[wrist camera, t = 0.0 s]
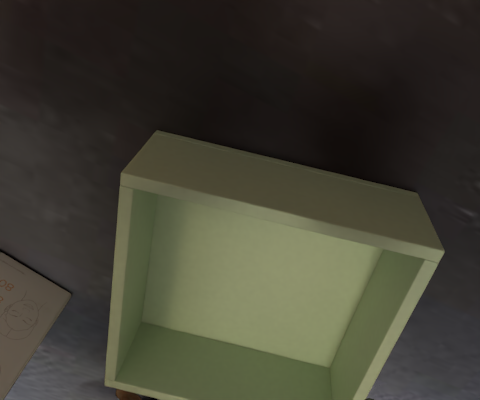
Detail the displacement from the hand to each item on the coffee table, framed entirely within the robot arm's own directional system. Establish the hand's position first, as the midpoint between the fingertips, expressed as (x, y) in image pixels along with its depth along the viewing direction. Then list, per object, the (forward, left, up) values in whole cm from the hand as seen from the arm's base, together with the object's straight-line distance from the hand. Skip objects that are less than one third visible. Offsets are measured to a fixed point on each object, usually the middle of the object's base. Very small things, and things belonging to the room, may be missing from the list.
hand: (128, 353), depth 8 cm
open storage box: (-8, -3, -15) cm, 17 cm away
